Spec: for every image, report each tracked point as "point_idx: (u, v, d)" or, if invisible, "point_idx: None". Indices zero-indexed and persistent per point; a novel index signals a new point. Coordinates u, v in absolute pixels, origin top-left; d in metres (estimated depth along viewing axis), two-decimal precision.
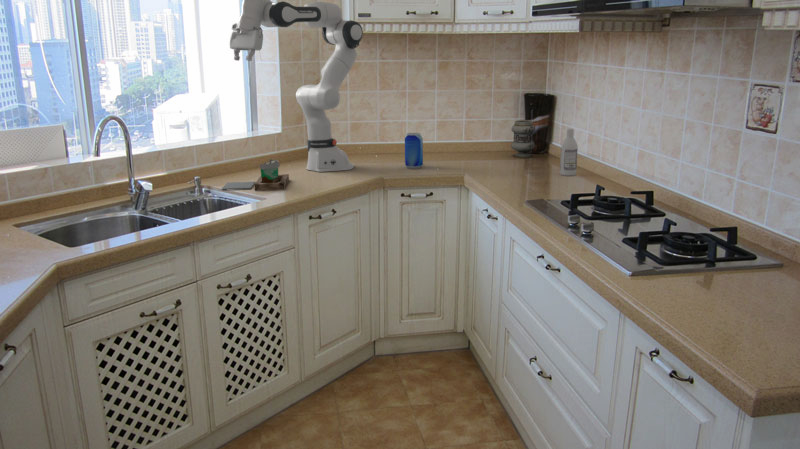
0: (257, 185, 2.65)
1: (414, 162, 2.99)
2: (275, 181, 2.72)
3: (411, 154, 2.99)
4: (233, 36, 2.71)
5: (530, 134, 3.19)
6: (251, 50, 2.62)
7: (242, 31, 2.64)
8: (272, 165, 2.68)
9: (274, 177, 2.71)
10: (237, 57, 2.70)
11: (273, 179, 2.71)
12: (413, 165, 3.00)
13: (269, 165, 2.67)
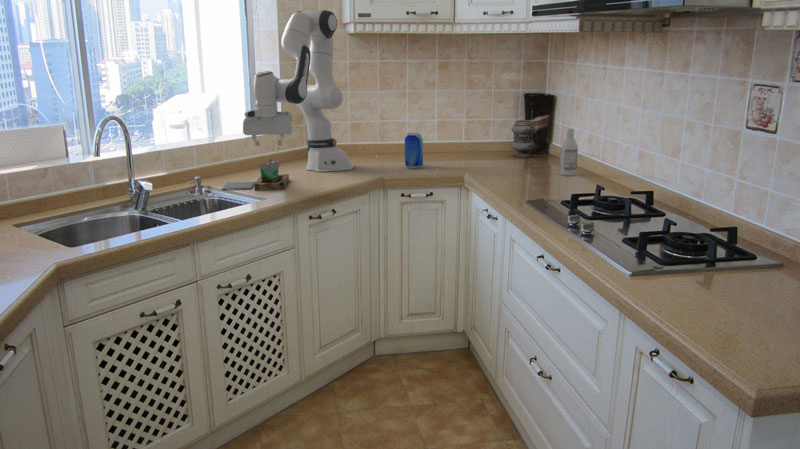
0: (257, 185, 2.65)
1: (414, 162, 2.99)
2: (275, 181, 2.72)
3: (411, 154, 2.99)
4: (248, 123, 2.64)
5: (530, 134, 3.19)
6: (283, 135, 2.68)
7: (267, 119, 2.63)
8: (272, 165, 2.68)
9: (274, 177, 2.71)
10: (259, 142, 2.69)
11: (273, 179, 2.71)
12: (413, 165, 3.00)
13: (269, 165, 2.67)
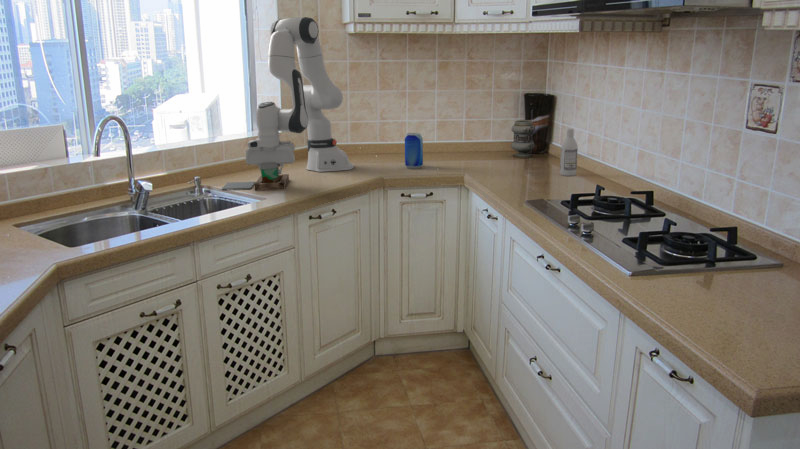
0: (257, 185, 2.65)
1: (414, 162, 2.99)
2: (275, 181, 2.72)
3: (411, 154, 2.99)
4: (251, 153, 2.68)
5: (530, 134, 3.19)
6: (283, 164, 2.71)
7: (270, 149, 2.67)
8: (272, 165, 2.68)
9: (275, 177, 2.71)
10: None
11: (274, 179, 2.71)
12: (413, 165, 3.00)
13: (269, 165, 2.67)
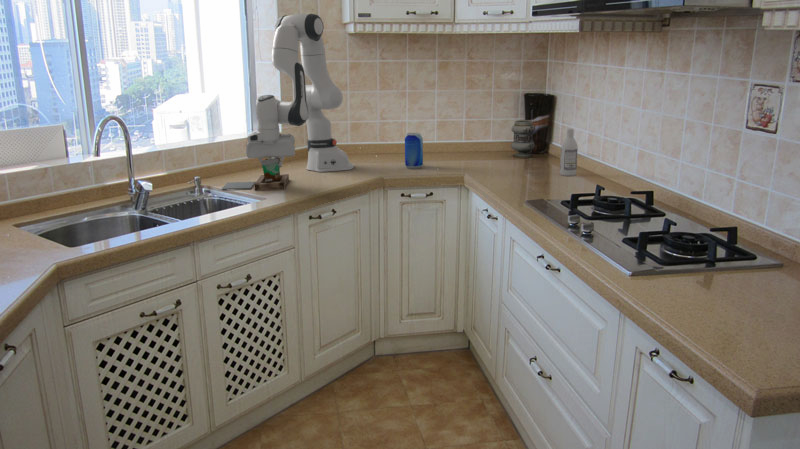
0: (257, 185, 2.65)
1: (414, 162, 2.99)
2: (277, 176, 2.72)
3: (411, 154, 2.99)
4: (251, 147, 2.68)
5: (530, 134, 3.19)
6: (283, 157, 2.71)
7: (270, 142, 2.66)
8: (273, 160, 2.68)
9: (276, 172, 2.71)
10: None
11: (276, 174, 2.71)
12: (413, 165, 3.00)
13: (270, 160, 2.67)
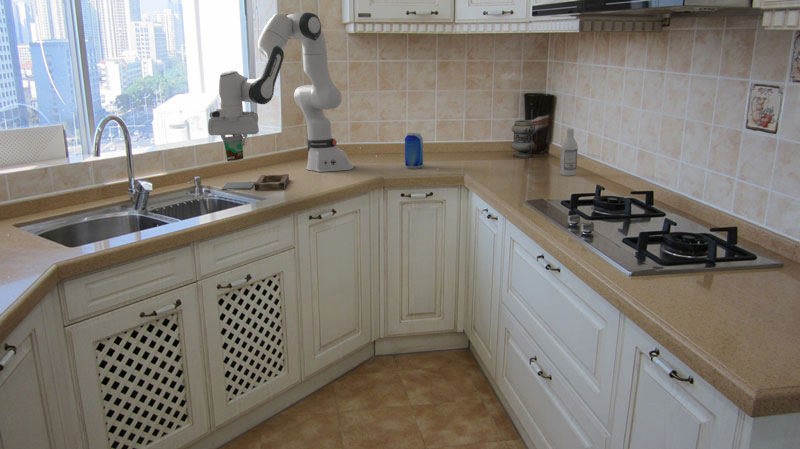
0: (257, 185, 2.65)
1: (414, 162, 2.99)
2: (240, 154, 2.67)
3: (411, 154, 2.99)
4: (213, 123, 2.63)
5: (530, 134, 3.19)
6: (246, 135, 2.66)
7: (233, 119, 2.62)
8: (236, 138, 2.63)
9: (239, 150, 2.66)
10: None
11: (238, 152, 2.66)
12: (413, 165, 3.00)
13: (233, 138, 2.62)
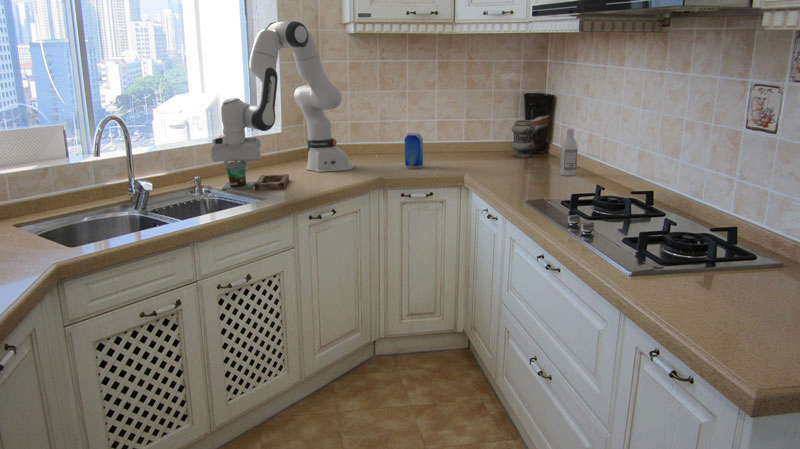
0: (257, 185, 2.65)
1: (414, 162, 2.99)
2: (242, 180, 2.70)
3: (411, 154, 2.99)
4: (216, 150, 2.66)
5: (530, 134, 3.19)
6: (249, 161, 2.69)
7: (235, 146, 2.65)
8: (238, 164, 2.66)
9: (241, 176, 2.69)
10: None
11: (241, 178, 2.69)
12: (413, 165, 3.00)
13: (235, 164, 2.65)
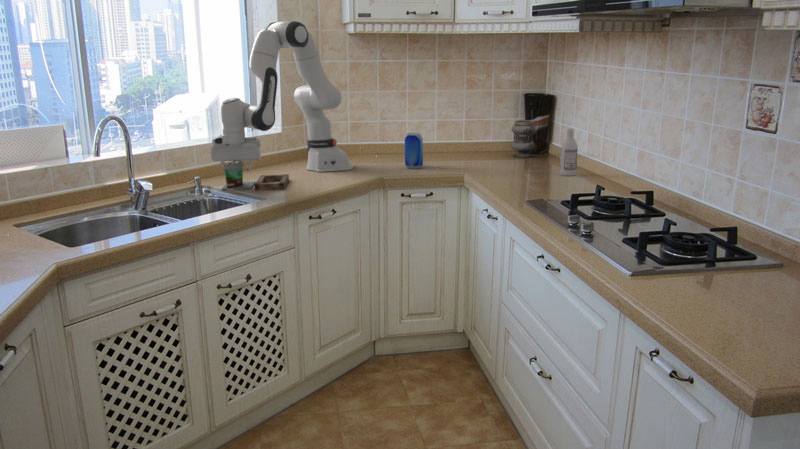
0: (257, 185, 2.65)
1: (414, 162, 2.99)
2: (239, 181, 2.70)
3: (411, 154, 2.99)
4: (216, 150, 2.66)
5: (530, 134, 3.19)
6: (251, 161, 2.69)
7: (235, 145, 2.65)
8: (236, 165, 2.66)
9: (239, 177, 2.69)
10: None
11: (238, 179, 2.69)
12: (413, 165, 3.00)
13: (233, 165, 2.65)
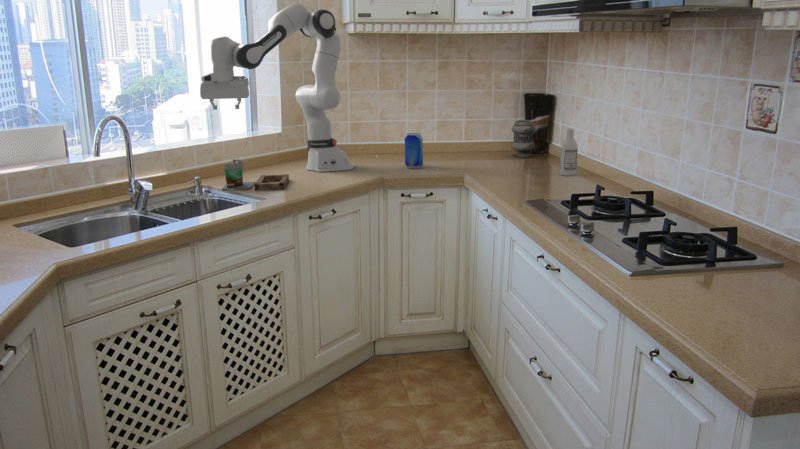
0: (257, 185, 2.65)
1: (414, 162, 2.99)
2: (239, 181, 2.70)
3: (411, 154, 2.99)
4: (205, 87, 2.72)
5: (530, 134, 3.19)
6: (240, 99, 2.75)
7: (224, 83, 2.71)
8: (236, 165, 2.66)
9: (239, 177, 2.69)
10: (216, 106, 2.76)
11: (238, 179, 2.69)
12: (413, 165, 3.00)
13: (233, 165, 2.65)
